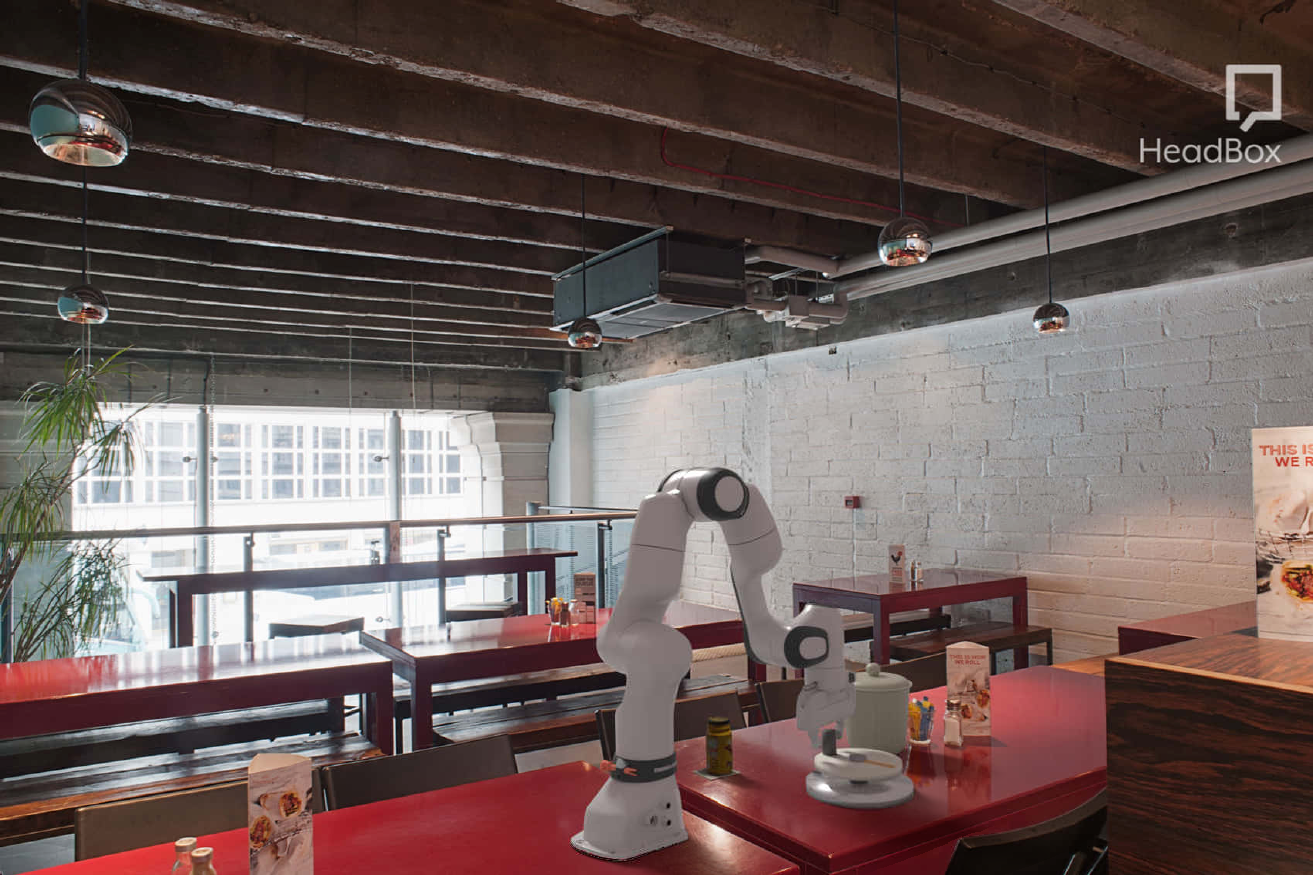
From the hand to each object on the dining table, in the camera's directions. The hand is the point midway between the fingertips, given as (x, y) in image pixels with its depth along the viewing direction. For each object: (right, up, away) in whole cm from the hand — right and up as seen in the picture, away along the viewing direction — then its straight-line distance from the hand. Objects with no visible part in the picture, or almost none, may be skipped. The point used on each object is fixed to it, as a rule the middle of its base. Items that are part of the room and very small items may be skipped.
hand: (827, 743), depth 189 cm
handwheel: (+5, -3, -5) cm, 8 cm away
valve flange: (+6, -8, -5) cm, 11 cm away
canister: (+16, -10, +23) cm, 30 cm away
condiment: (-23, -10, +10) cm, 27 cm away
